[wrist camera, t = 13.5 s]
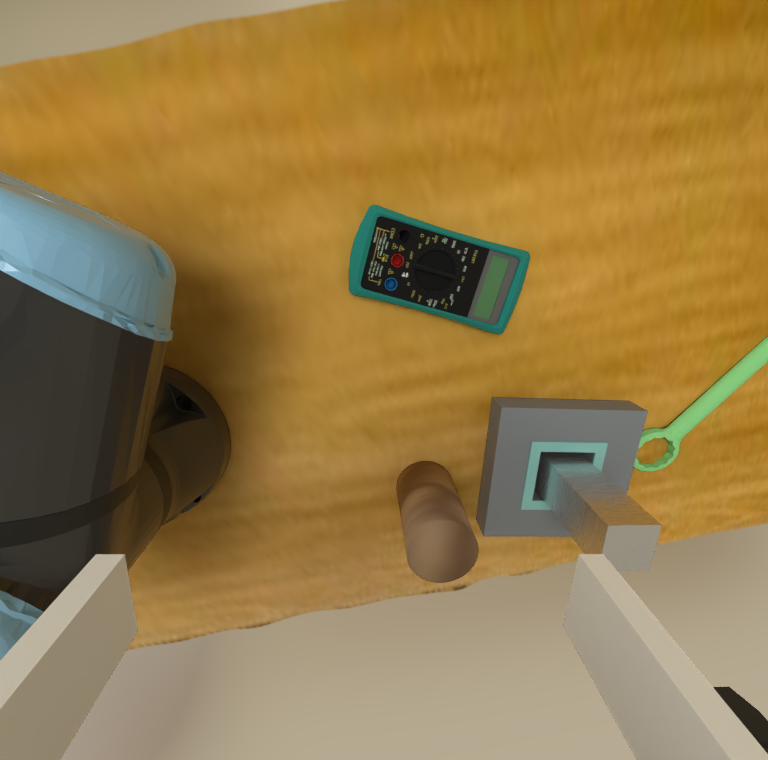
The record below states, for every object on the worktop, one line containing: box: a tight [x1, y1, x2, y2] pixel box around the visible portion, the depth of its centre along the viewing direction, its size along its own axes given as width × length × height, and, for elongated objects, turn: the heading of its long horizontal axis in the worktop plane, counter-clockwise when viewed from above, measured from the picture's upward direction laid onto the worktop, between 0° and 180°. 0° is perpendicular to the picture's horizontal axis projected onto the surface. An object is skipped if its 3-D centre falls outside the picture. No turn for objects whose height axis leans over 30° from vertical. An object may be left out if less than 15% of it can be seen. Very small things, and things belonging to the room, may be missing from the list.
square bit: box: [535, 452, 662, 571], centre depth 35 cm, size 4×4×13 cm
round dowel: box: [397, 461, 479, 583], centre depth 37 cm, size 6×6×10 cm
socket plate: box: [476, 397, 648, 537], centre depth 40 cm, size 14×14×3 cm
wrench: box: [634, 336, 768, 472], centre depth 40 cm, size 25×2×5 cm
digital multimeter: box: [349, 205, 530, 334], centre depth 34 cm, size 7×15×3 cm, turn 74°
